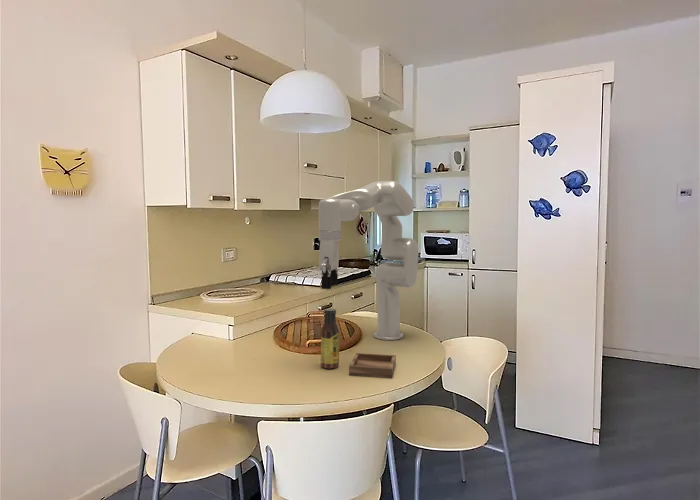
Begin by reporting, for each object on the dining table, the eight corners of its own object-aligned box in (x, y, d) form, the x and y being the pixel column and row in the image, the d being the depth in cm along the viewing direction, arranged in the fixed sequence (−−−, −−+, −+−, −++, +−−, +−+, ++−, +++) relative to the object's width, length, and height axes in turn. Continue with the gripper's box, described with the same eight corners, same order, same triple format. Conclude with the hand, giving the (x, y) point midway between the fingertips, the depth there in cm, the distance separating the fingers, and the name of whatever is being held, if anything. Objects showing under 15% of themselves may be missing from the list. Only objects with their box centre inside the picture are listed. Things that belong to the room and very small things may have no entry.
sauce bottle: (336, 370, 149) (336, 312, 147) (318, 368, 150) (318, 311, 148) (341, 363, 155) (341, 308, 154) (323, 362, 156) (323, 307, 155)
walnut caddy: (356, 361, 158) (356, 352, 158) (395, 363, 155) (395, 355, 155) (349, 375, 144) (349, 366, 144) (391, 378, 142) (392, 369, 141)
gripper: (325, 234, 158) (325, 282, 159) (312, 237, 141) (312, 290, 142) (345, 235, 157) (345, 283, 158) (335, 237, 140) (334, 291, 141)
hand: (329, 286), depth 150 cm, fingers open, 9 cm apart
